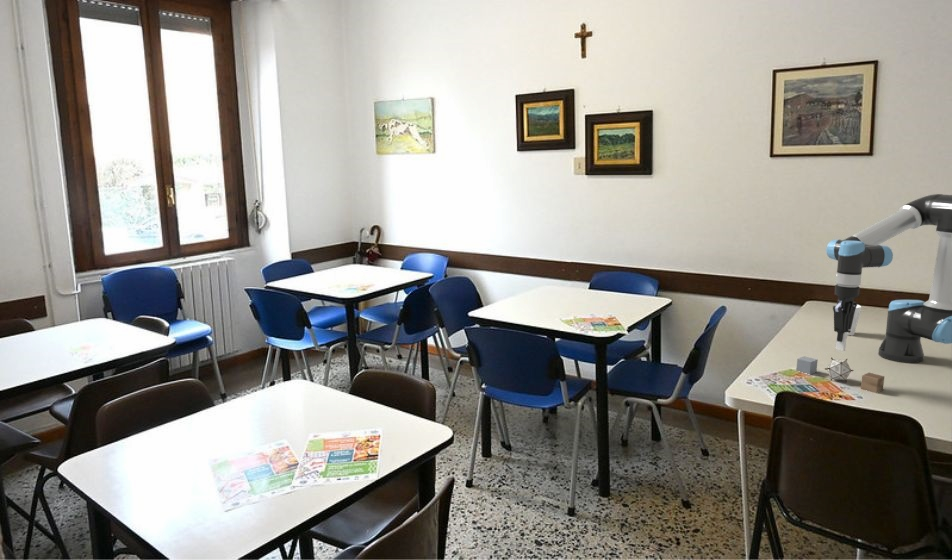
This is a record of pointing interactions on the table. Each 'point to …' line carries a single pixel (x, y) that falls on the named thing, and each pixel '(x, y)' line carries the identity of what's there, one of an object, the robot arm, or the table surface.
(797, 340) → the table surface
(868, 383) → the walnut block
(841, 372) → the white icosahedron
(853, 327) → the foam cup
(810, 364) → the grey block
